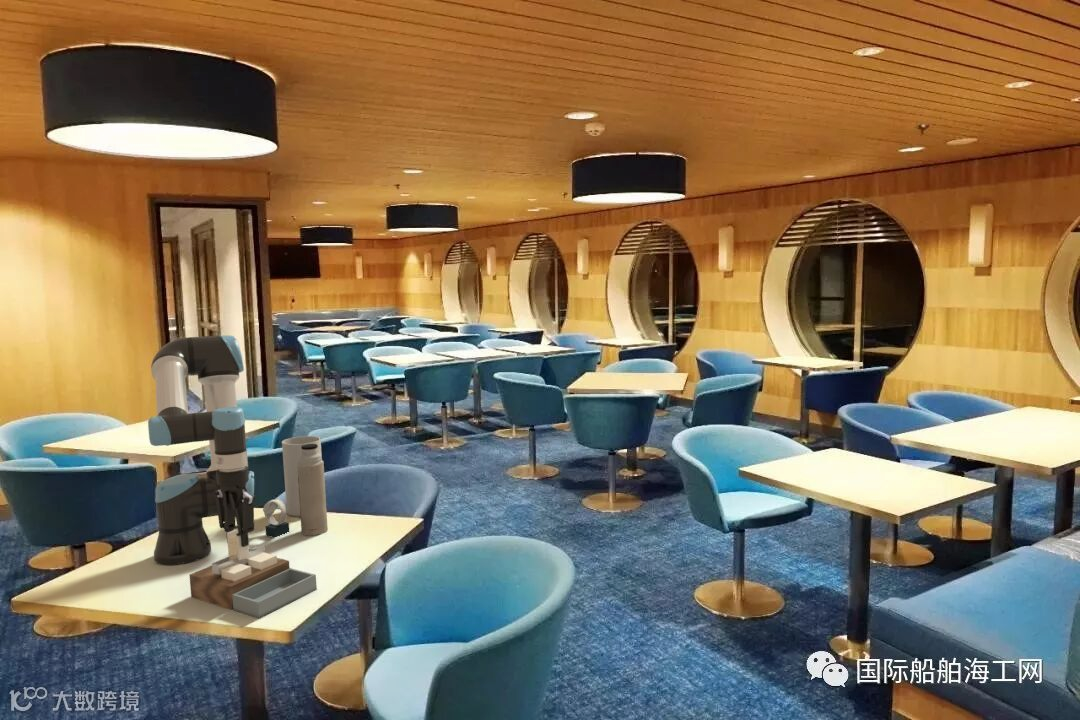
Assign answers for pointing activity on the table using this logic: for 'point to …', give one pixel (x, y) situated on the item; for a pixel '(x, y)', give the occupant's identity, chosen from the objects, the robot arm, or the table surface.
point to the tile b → (262, 561)
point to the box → (274, 592)
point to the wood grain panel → (229, 583)
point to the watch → (274, 527)
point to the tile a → (236, 572)
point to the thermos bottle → (312, 491)
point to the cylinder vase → (294, 469)
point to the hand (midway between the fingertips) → (238, 556)
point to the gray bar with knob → (235, 556)
